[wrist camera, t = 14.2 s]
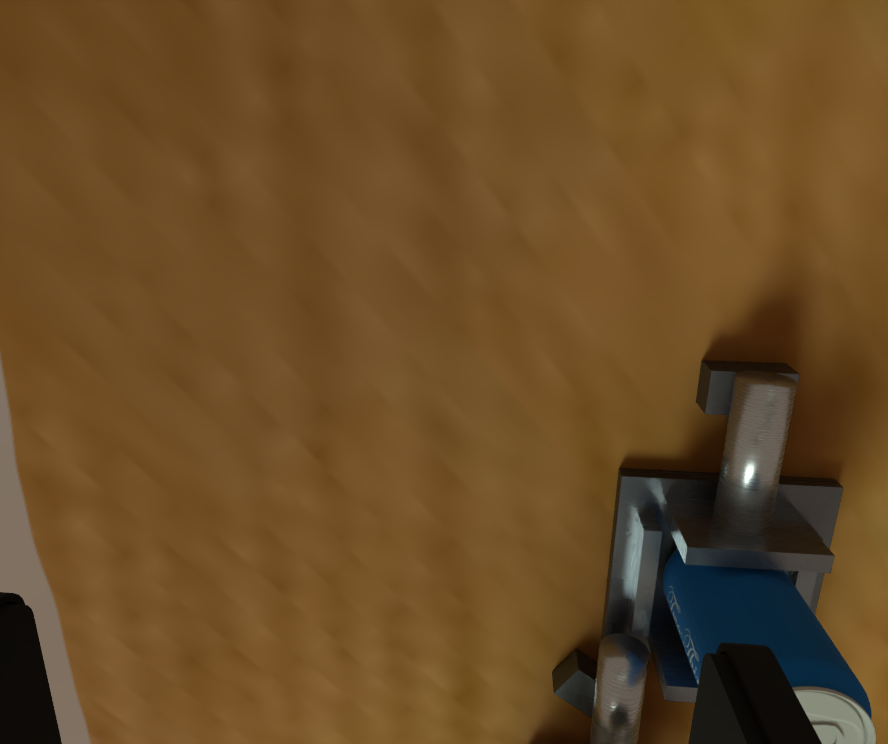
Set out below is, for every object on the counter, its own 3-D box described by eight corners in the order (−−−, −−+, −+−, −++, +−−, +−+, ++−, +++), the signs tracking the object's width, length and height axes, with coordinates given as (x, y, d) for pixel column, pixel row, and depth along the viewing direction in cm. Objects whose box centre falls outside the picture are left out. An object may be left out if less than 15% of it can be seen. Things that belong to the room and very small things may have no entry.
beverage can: (658, 525, 38) (723, 682, 27) (776, 519, 37) (894, 679, 26) (660, 619, 40) (721, 803, 29) (772, 615, 39) (880, 802, 28)
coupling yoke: (577, 354, 36) (590, 391, 31) (860, 364, 35) (927, 404, 30) (549, 702, 44) (556, 783, 38) (781, 720, 43) (824, 807, 37)
